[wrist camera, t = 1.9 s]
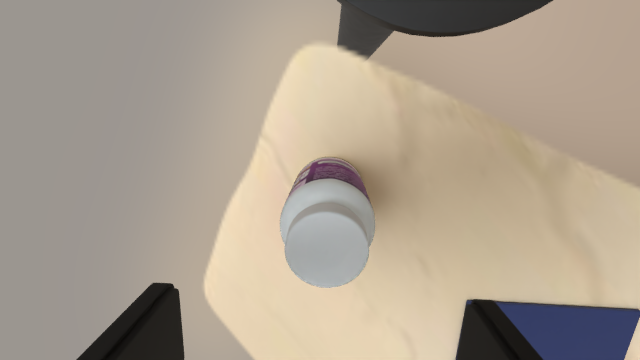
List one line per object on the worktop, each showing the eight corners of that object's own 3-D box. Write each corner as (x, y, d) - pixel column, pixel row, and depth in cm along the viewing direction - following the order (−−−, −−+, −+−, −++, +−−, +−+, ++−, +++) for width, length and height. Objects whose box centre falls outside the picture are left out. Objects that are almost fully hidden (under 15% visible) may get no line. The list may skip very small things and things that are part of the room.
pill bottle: (296, 152, 23) (272, 189, 13) (367, 159, 23) (392, 201, 13) (291, 219, 24) (266, 295, 15) (358, 225, 24) (375, 306, 15)
